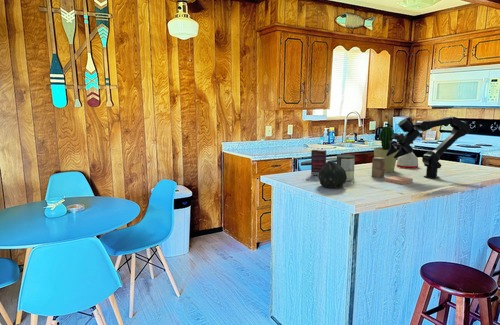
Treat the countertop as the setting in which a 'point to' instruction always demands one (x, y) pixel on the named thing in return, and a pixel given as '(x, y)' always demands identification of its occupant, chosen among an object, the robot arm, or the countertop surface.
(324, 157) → the supplement box
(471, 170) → the countertop surface
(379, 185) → the countertop surface
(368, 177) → the countertop surface
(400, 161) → the knit hat
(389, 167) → the potted cactus
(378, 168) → the walnut block
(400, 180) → the top slab
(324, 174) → the squash
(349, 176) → the coffee can
